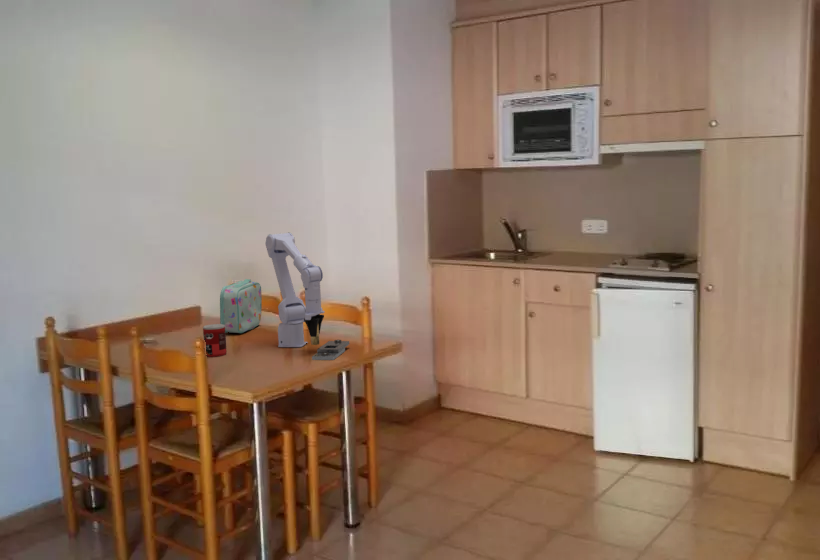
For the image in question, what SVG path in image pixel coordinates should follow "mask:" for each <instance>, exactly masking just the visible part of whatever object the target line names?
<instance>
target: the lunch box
mask: <svg viewBox="0 0 820 560" xmlns="http://www.w3.org/2000/svg"><path fill="white" fill-rule="evenodd" d="M220 290H221V291H220V294H219V317H220V318H219V322H220V323H219V324H223V325H225V334H226V333H227V334H228V332H229V333H231V334H243V333H245V332H248V331H251V330H254V329H255V328H256V327H258V326H259V325H260V323H261V319H262V305H263V304H262V303H263V302H262V296H263V295H262V285H261V284H260V282H257V281H252V280H251V279H249V278H245V279H244V280H239V281H236V282H234V283H232V284H231V283H230V284H229V285H224V286H223V287H222V288H221V289H220Z"/></svg>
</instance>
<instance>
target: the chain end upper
mask: <svg viewBox="0 0 820 560" xmlns="http://www.w3.org/2000/svg"><path fill="white" fill-rule="evenodd" d="M349 345H350V340H342V339H334V340H329V341H327V342H326V343H324V344H322V345H321V346H320V347H318V348H317V349H316V350H317V351H316V353H318V352H329V353H339V352H340V351H341V350H343V349H344V348H345V349H346V348H347V347H348V346H349Z"/></svg>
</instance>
